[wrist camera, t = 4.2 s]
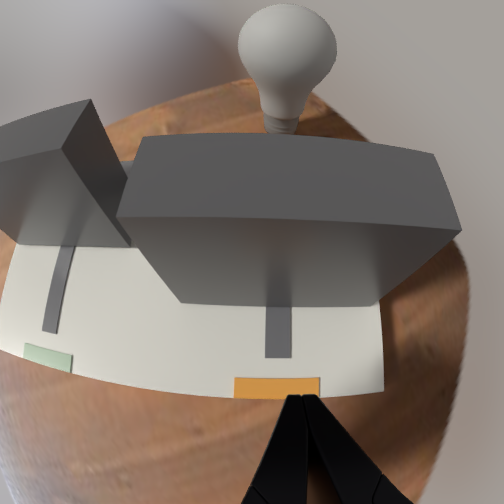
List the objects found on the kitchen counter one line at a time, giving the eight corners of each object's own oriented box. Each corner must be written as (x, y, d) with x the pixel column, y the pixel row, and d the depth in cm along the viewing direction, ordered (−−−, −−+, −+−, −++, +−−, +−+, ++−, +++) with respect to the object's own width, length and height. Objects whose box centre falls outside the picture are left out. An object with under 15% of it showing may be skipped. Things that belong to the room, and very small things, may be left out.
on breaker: (130, 247, 15) (60, 148, 8) (18, 244, 16) (-51, 179, 8) (140, 203, 17) (91, 98, 10) (32, 208, 17) (-27, 138, 10)
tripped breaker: (370, 306, 14) (462, 230, 7) (181, 303, 14) (115, 217, 7) (363, 253, 15) (433, 153, 8) (187, 248, 15) (143, 137, 8)
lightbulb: (331, 134, 22) (360, 13, 12) (288, 174, 20) (308, 27, 10) (272, 103, 24) (279, -9, 14) (224, 137, 22) (214, 6, 12)
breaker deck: (372, 391, 14) (397, 391, 11) (6, 350, 14) (-22, 342, 11) (352, 193, 19) (365, 165, 17) (48, 195, 20) (30, 173, 17)
